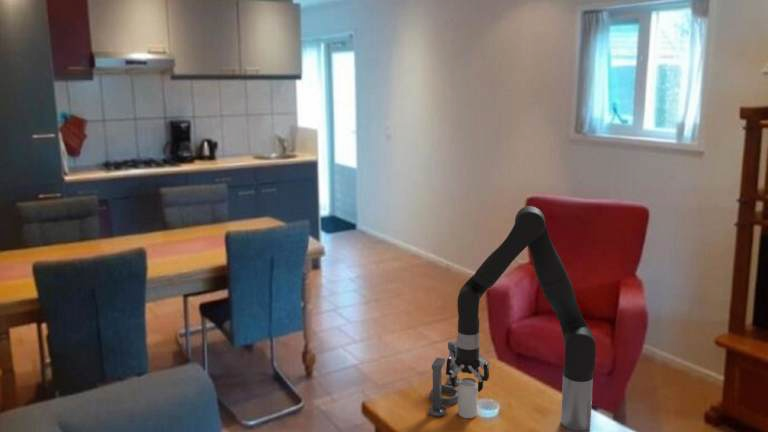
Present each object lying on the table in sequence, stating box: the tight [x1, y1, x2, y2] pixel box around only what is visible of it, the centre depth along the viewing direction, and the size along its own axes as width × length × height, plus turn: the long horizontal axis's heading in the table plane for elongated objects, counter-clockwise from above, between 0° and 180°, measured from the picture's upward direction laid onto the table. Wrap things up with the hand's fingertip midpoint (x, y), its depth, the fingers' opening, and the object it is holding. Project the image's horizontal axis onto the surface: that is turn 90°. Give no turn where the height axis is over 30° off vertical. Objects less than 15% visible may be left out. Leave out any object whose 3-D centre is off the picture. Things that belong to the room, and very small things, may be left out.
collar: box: [429, 384, 458, 407], centre depth 223 cm, size 10×10×2 cm
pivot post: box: [446, 349, 461, 387], centre depth 233 cm, size 5×5×14 cm
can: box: [457, 377, 478, 419], centre depth 211 cm, size 6×6×12 cm
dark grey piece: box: [427, 357, 447, 418], centre depth 213 cm, size 6×8×18 cm
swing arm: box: [447, 340, 487, 368], centre depth 224 cm, size 21×4×2 cm, turn 30°
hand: (466, 388), depth 210 cm, fingers open, 8 cm apart
